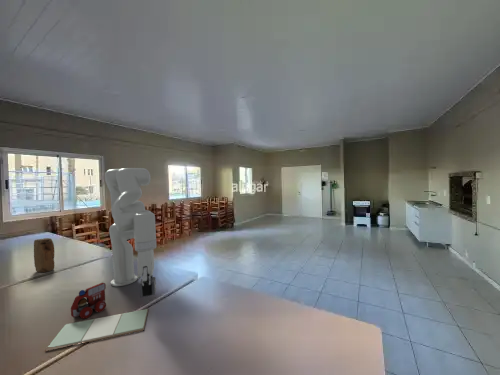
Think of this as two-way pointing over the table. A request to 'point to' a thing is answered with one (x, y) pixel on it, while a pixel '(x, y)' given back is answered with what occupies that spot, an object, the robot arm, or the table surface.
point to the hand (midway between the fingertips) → (148, 291)
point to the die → (153, 282)
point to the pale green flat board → (101, 328)
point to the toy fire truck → (89, 301)
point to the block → (44, 255)
